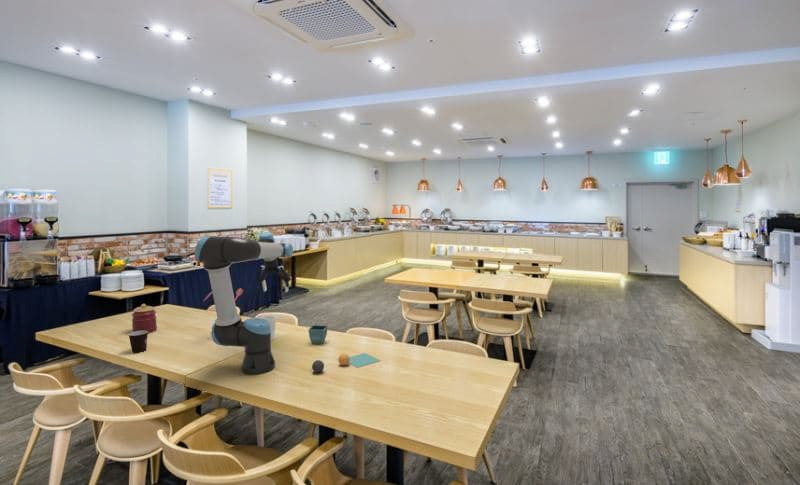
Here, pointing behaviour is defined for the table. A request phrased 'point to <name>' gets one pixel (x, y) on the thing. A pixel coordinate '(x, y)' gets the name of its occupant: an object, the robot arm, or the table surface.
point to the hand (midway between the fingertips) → (276, 291)
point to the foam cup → (271, 324)
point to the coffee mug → (138, 341)
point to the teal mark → (362, 360)
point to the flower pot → (317, 334)
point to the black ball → (318, 366)
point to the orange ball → (343, 359)
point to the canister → (144, 319)
